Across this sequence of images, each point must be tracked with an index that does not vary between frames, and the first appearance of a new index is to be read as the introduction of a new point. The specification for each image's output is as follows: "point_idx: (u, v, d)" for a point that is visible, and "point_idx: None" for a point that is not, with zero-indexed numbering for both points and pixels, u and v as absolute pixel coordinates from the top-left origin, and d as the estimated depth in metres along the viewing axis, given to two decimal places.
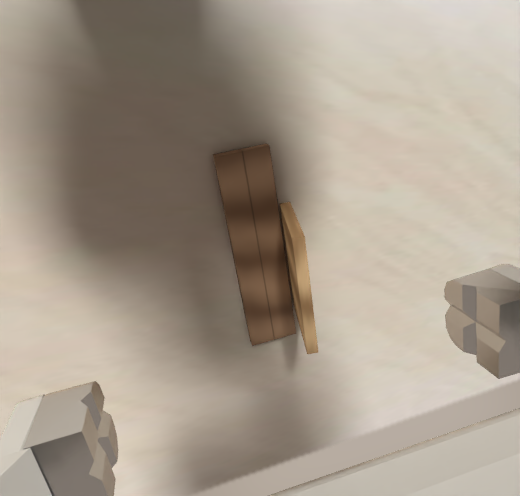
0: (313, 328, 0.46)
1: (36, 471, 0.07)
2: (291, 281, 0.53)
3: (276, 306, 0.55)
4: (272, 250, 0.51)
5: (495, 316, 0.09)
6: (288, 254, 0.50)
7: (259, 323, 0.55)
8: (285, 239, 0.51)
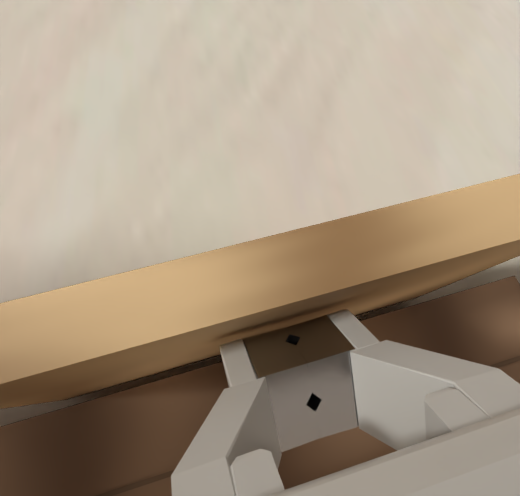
0: (474, 195, 0.08)
1: (269, 399, 0.08)
2: None
3: None
4: None
5: (308, 373, 0.08)
6: (208, 353, 0.14)
7: None
8: (173, 366, 0.15)
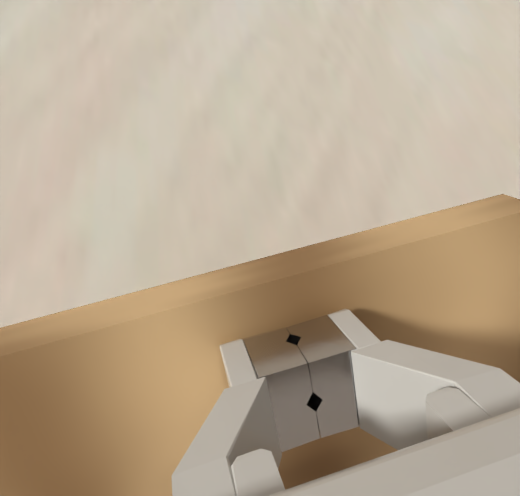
0: (395, 225, 0.11)
1: (269, 398, 0.08)
2: None
3: None
4: None
5: (309, 373, 0.08)
6: None
7: None
8: None
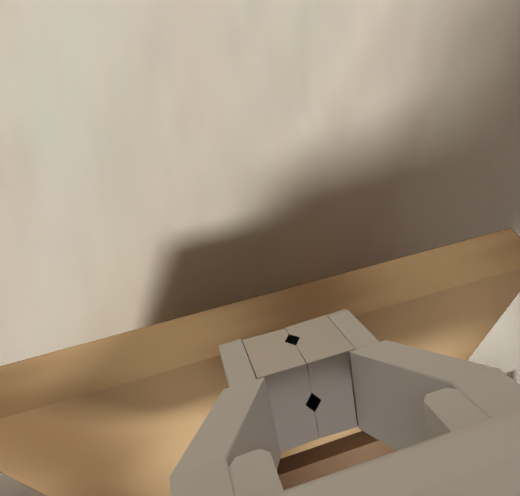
0: (405, 263, 0.11)
1: (268, 399, 0.08)
2: None
3: None
4: None
5: (308, 373, 0.08)
6: None
7: None
8: None
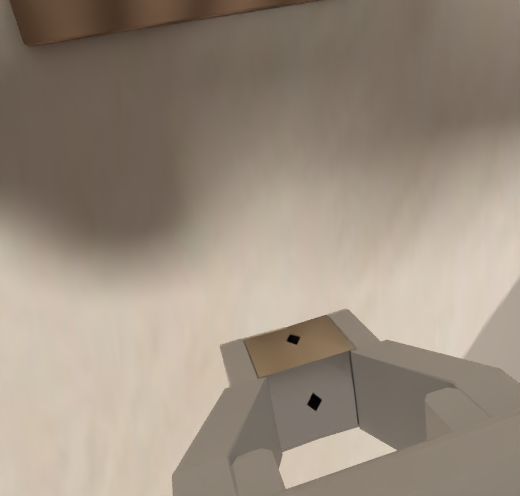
0: None
1: (270, 398, 0.08)
2: None
3: None
4: None
5: (309, 373, 0.08)
6: None
7: None
8: None
